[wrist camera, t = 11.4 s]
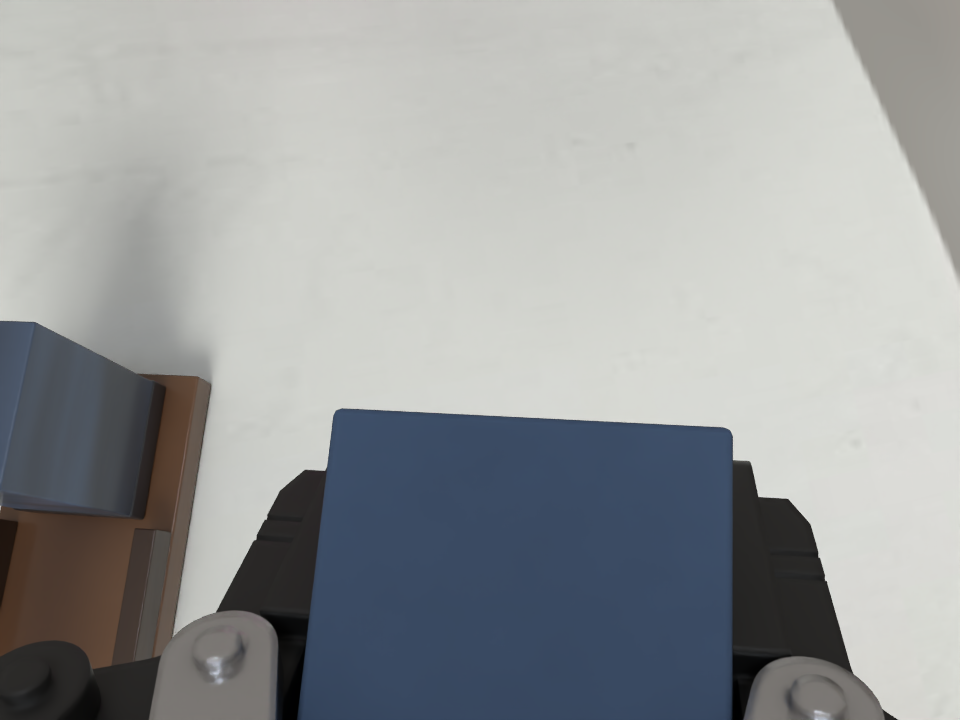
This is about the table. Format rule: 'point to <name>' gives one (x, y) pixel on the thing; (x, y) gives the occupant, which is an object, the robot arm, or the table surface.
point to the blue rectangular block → (521, 571)
